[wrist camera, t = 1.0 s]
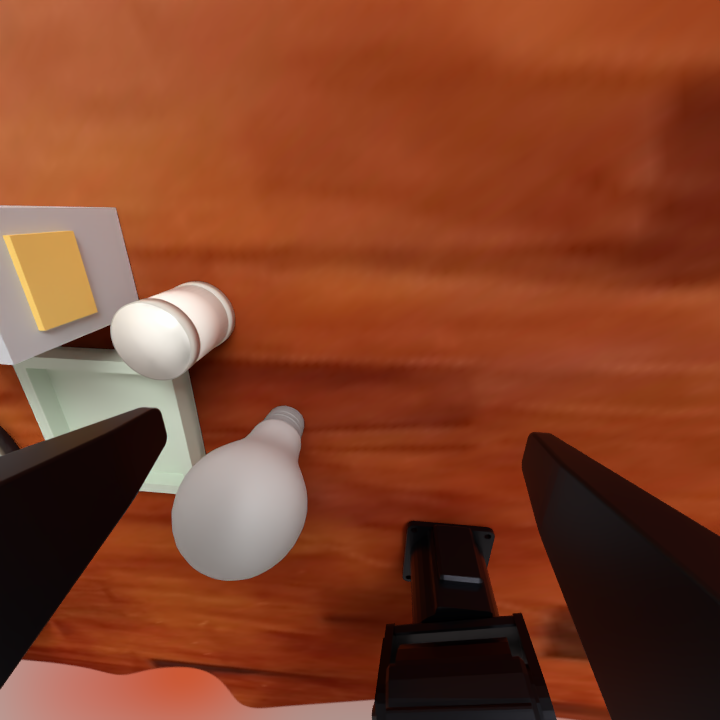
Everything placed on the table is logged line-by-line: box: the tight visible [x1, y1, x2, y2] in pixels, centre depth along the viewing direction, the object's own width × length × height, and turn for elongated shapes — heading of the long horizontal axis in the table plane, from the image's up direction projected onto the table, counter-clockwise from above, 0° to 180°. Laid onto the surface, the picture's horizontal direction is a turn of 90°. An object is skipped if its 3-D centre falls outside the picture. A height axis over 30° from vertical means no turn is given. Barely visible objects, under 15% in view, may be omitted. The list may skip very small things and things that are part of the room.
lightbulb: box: [172, 406, 307, 581], centre depth 19 cm, size 6×6×11 cm
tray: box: [13, 347, 206, 494], centre depth 24 cm, size 11×11×2 cm
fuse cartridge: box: [110, 281, 235, 380], centre depth 19 cm, size 4×4×5 cm
